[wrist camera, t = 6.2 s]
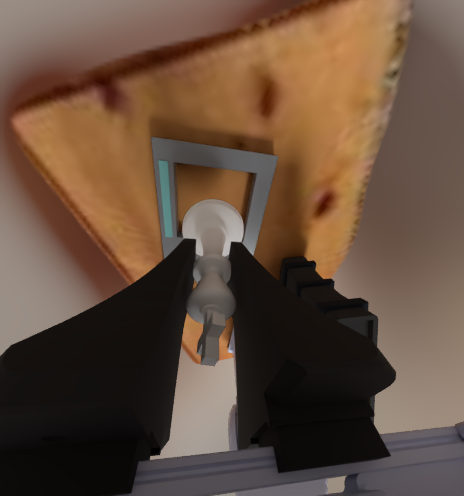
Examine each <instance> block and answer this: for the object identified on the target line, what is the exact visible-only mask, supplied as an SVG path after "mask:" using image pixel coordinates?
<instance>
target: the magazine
mask: <svg viewBox="0 0 464 496" xmlns="http://www.w3.org/2000/svg"><path fill="white" fill-rule="evenodd" d="M315 268H316V263H315V261H307V259H306V258H305V257H293V258H284V259H283V260H282V266H281V273H280V280H279V282H280V283H281V284H282V285H284V286H285V287H286V288H287V289H289V290H290V291H291V292H293V293H294V294H295V295H297V296H298V297H300V298H301V299H302V300H304V301H305V302H307V303H308V304H310V305H311V306H313V307H314V308H316V309H318V310H319V311H321V312H323V313H324V314H326V315H328V316H329V317H331V318H333V319H334V320H336V321H338V322H340V323H341V324H343V325H345V326H347V327H349V328H351V329H353V330H355V331H357V332H358V333H360V334H362V335H364V336H366V337H368V338H370V339H371V340H372V341H373V342H374V344H375V345H376V346H377V335H378V318H377V316H376V315H374V314H372V313H371V312H369V311H368V302H367V301H365V300H363V299H361V298H354V299H347V298H346V297H344V296H342V295H341V294H339V293H338V292H337V291H336V290H335V289H334V281H333V280H332V279H323V278H322V277H321V276H320V275H319V274H318V273H317V272H316V271H315ZM367 401H368V402H369V404H370V406H371V407H372V409H373V411H374V402H375V395H374V396H372V397H371V398H369V399H367ZM370 418H371V420H372V422H373V424H374V416H373V417H370Z"/></svg>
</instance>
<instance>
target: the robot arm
mask: <svg viewBox="0 0 464 496" xmlns="http://www.w3.org/2000/svg"><path fill="white" fill-rule="evenodd" d="M228 260H229V261H230V263H231V276H230V280H229V281H228V282H227V286H228V288H229V289H230V290H231V292H232V294H233V295H234V298H235V300H236V309H235V312H234V313H233V315H232V318H233V326H234V327H233V331H232V335H231V339H230V343H229V347H228V352H229V353H233V357H234V369H235V381H236V389H237V397H236V404H235V405H233V406H232V409H231V411H230V413H229V422H228V434H229V449H230V451H227V452H218V453H210V454H200V455H191V456H182V457H173V458H164V459H155V460H150V456H155V455H160V453H161V450H162V449H163V447H164V446H165V445H166V443H167V442H168V441H169V437H170V428H171V420H172V412H173V404H174V396H175V387H176V380H177V372H178V364H179V356H180V349H181V342H182V335H183V328H184V323H185V318H186V314H187V309H186V303H187V300H188V298H189V296H190V294H191V293H192V288H193V284H194V277H193V267H194V262H195V261H196V239H190V238H184V239H183V240H182V241H181V242H180V243H179V245H178V246H177V247H176V248H175V249H174V250H173V251H172V252H171V253H170V254H169V255H168V256H167V257H166V258H165V259H164V260H162V261H161V262H160V263H159V264H158V265H157V266H155V267H154V268H153V269H152V270H151V271H149V272H148V273H147V274H146V275H144V276H143V277H142V278H140V279H139V280H137V281H136V282H134V283H133V284H131V285H130V286H128V287H127V288H125V289H123V290H122V291H120V292H118V293H117V294H115V295H113V296H112V297H110V298H108V299H107V300H105V301H103V302H101V303H99V304H97V305H96V306H94V307H92V308H90V309H88V310H86V311H84V312H82V313H80V314H78V315H76V316H74V317H72V318H70V319H68V320H66V321H64V322H62V323H59V324H58V325H55V326H53V327H51V328H48V329H46V330H44V331H42V332H40V333H37V334H35V335H33V336H31V337H29V338H27V339H24V340H22V341H20V342H18V343H15V344H13V345H11V346H10V347H9V348H8V349H7V350H6V351H5V352H4V353H3V354H2V355H1V356H0V496H213V495H219V494H226V493H233V492H235V493H236V496H464V422H460V423H458V424H455V426H450V427H441V428H433V429H423V430H414V431H405V432H396V433H388V434H379V433H378V431H377V429H376V427H375V426H374V424H373V422H372V420H371V418H370V417H373V416H374V411H373V409H372V407H371V406H370V404H369V402H368V401H367V399H369V398H371V397H372V396H374V395H376V394H377V393H379V392H381V391H382V390H384V389H385V388H387V387H389V386H390V385H391V384H392V383H393V382H394V381H395V378H396V372H395V370H394V369H393V367H392V366H391V365H390V364H389V362H388V361H387V359H386V358H385V357H384V355H383V354H382V353H381V352H380V350H379V349H378V348H377V346H376V345H375V344H374V342H373V341H372V340H371V339H370V338H368V337H366V336H364V335H362V334H360V333H358V332H357V331H355V330H353V329H351V328H349V327H347V326H345V325H343V324H341V323H340V322H338V321H336V320H334V319H333V318H331V317H329V316H328V315H326V314H324V313H323V312H321V311H319V310H318V309H316V308H314V307H313V306H311V305H310V304H308V303H307V302H305V301H304V300H302V299H301V298H300V297H298V296H297V295H295V294H294V293H293V292H291V291H290V290H289V289H287V288H286V287H285V286H284V285H282V284H281V283H280V282H279V281H278V280H276V279H275V278H274V277H273V276H272V275H271V274H270V273H269V272H268V271H267V270H266V269H265V268H264V267H263V266H262V265H261V264H260V263H259V262H258V261H257V260H256V259H255V258H254V256H253V255H252V254H251V253H250V252H249V251H248V249H247V248H246V247H245V246H244V244H243V243H242V242H232V241H231V245H230V251H229V258H228ZM341 476H347V477H346V478H345V489H344V491H343V492H341V493H332V494H328V488H327V482H328V481H327V478H334V477H341Z"/></svg>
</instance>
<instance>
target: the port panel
mask: <svg viewBox="0 0 464 496" xmlns="http://www.w3.org/2000/svg"><path fill="white" fill-rule="evenodd" d="M151 141H152V151H153V160H154V169H155V179H156V188H157V197H158V207H159V216H160V226H161V235H162V244H163V254H164V259H165V258H166V257H167V256H168V255H169V254H170V253H171V252H172V251H173V250H174V249H175V248H176V247H177V246H178V245H179V243H180V242H181V241H182V240H183V239H184V238H183V234H182V232H179V221H178V197H177V173H176V162H177V163H184V164H191V165H199V166H206V167H214V168H221V169H229V170H236V171H243V172H251V173H254V175H253V181H252V186H251V191H250V196H249V201H248V207H247V212H246V217H245V222H244V234H243V238H242V241H241V242H242V243H243V244H244V246H245V247H246V248H247V249H248V251H249V252H250V253H251V254H252V255H254V251H255V247H256V243H257V239H258V235H259V231H260V227H261V223H262V219H263V215H264V211H265V207H266V203H267V199H268V196H269V192H270V188H271V184H272V180H273V176H274V172H275V168H276V164H277V160H278V156H276V155H271V154H265V153H258V152H251V151H245V150H238V149H232V148H225V147H219V146H212V145H206V144H199V143H193V142H186V141H180V140H173V139H167V138H160V137H151ZM199 257H201V256H199V255H198V254H196V260H197V259H198V258H199ZM225 257H226V258H227V259H228V258H229V255H227V256H225Z"/></svg>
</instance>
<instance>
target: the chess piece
mask: <svg viewBox="0 0 464 496" xmlns="http://www.w3.org/2000/svg"><path fill="white" fill-rule="evenodd" d="M182 234H183V238H190V239H196V254H198V255H199V256H201V257H199V258H198V259H197V260H196V261H195V262H194V267H193V277H194V279H195V281H196V282H197V283H198V284H197V286H196V288H195V289H194V290H193V291H192V293H191V294H190V296H189V298H188V300H187V303H186V309H187V312H188V314H189V316H190V317H191V318H192V319H194V320H195V321H197V322H199V323H202V324H203V333H202V335H201V337H200V339H199V341H198V346H197V354H198V355H201V365H209V366H215V364H216V362H217V361H218V360H219V337H220V335H221V334H222V332H223V330H224V328H225V327H226V323H225V321H226V320H227V319H229V318H230V317H231V316H232V315H233V313H234V312H235V309H236V300H235V298H234V295H233V294H232V292H231V290H230V289H229V288H228V286H227V284H226V283H227V282H228V281H229V280H230V276H231V263H230V261H229V260H228V259H227V258H226V257H225V256H227V255H229V251H230V245H231V241H232V242H241V241H242V238H243V234H244V225H243V220H242V218H241V215H240V214H239V212H238V211H237V210H236V209H235V208H234V207H233V206H232V205H230V204H229V203H227V202H225V201H222V200H217V199H208V200H203V201H200V202H198V203H196V204H195V205H193V206H192V207H191V208H190V209H189V210H188V211H187V213H186V215H185V217H184V219H183V224H182Z"/></svg>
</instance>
